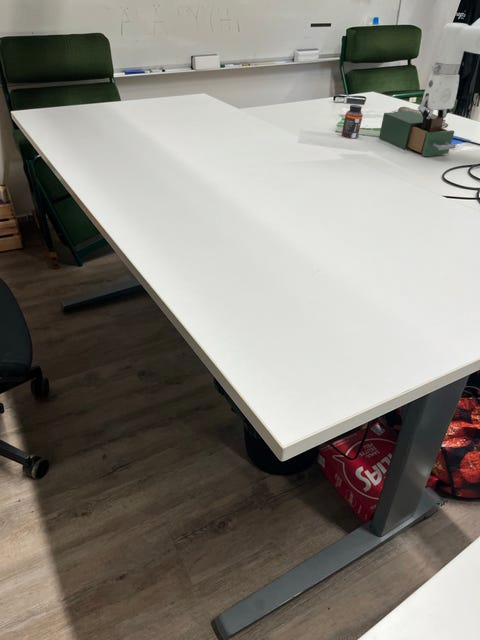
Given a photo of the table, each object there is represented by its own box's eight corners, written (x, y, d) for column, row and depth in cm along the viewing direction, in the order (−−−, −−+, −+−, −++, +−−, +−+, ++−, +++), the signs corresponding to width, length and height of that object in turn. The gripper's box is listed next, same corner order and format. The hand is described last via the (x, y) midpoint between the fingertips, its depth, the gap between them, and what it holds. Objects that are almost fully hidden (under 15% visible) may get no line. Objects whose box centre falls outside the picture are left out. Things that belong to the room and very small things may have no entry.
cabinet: (430, 148, 169) (437, 121, 163) (404, 151, 165) (410, 123, 160) (404, 136, 179) (410, 111, 174) (378, 139, 176) (383, 112, 170)
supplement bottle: (357, 142, 171) (365, 108, 165) (340, 139, 172) (347, 106, 165) (356, 138, 176) (364, 105, 170) (340, 136, 176) (347, 103, 170)
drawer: (457, 157, 158) (464, 134, 154) (432, 160, 155) (439, 137, 150) (421, 142, 171) (426, 120, 167) (398, 144, 168) (403, 122, 163)
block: (430, 128, 162) (434, 114, 160) (439, 132, 159) (443, 118, 157) (420, 129, 161) (423, 115, 158) (429, 133, 158) (433, 119, 155)
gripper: (432, 72, 144) (417, 135, 154) (475, 70, 149) (457, 131, 160) (416, 68, 149) (402, 129, 160) (458, 66, 155) (442, 125, 165)
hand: (430, 129), depth 160 cm, fingers closed on block, 4 cm apart
